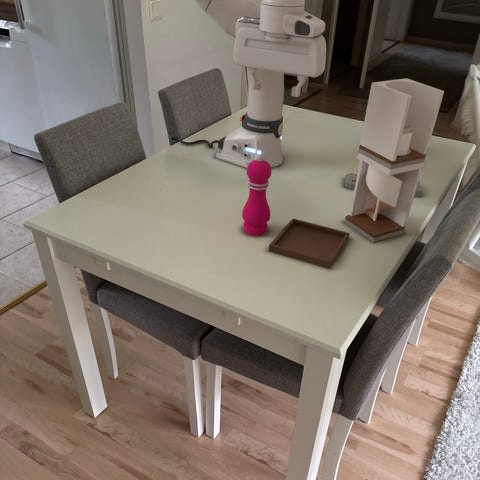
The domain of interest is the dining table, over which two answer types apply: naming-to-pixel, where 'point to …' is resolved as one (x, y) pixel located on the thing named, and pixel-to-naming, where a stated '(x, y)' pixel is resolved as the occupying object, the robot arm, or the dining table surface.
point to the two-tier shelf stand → (392, 155)
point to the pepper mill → (257, 197)
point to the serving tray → (309, 243)
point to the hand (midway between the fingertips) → (275, 92)
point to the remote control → (351, 178)
